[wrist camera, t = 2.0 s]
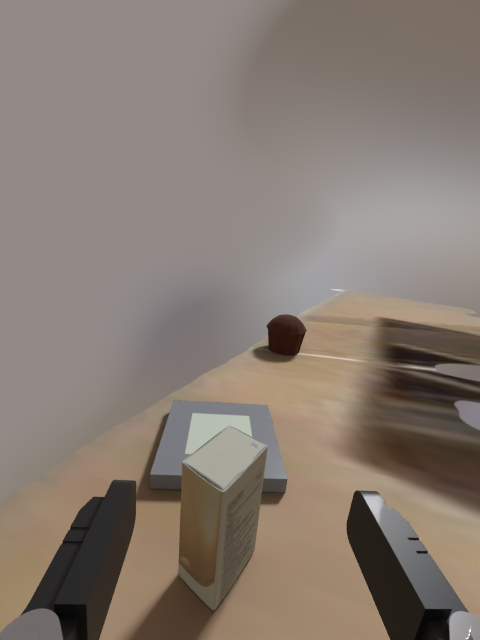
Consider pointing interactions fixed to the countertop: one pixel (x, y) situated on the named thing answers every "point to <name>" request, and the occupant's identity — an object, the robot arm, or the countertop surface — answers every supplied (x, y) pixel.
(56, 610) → the robot arm
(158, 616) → the countertop surface
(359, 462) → the countertop surface
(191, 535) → the skincare box
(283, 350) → the muffin
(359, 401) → the countertop surface
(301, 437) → the countertop surface
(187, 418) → the plate
